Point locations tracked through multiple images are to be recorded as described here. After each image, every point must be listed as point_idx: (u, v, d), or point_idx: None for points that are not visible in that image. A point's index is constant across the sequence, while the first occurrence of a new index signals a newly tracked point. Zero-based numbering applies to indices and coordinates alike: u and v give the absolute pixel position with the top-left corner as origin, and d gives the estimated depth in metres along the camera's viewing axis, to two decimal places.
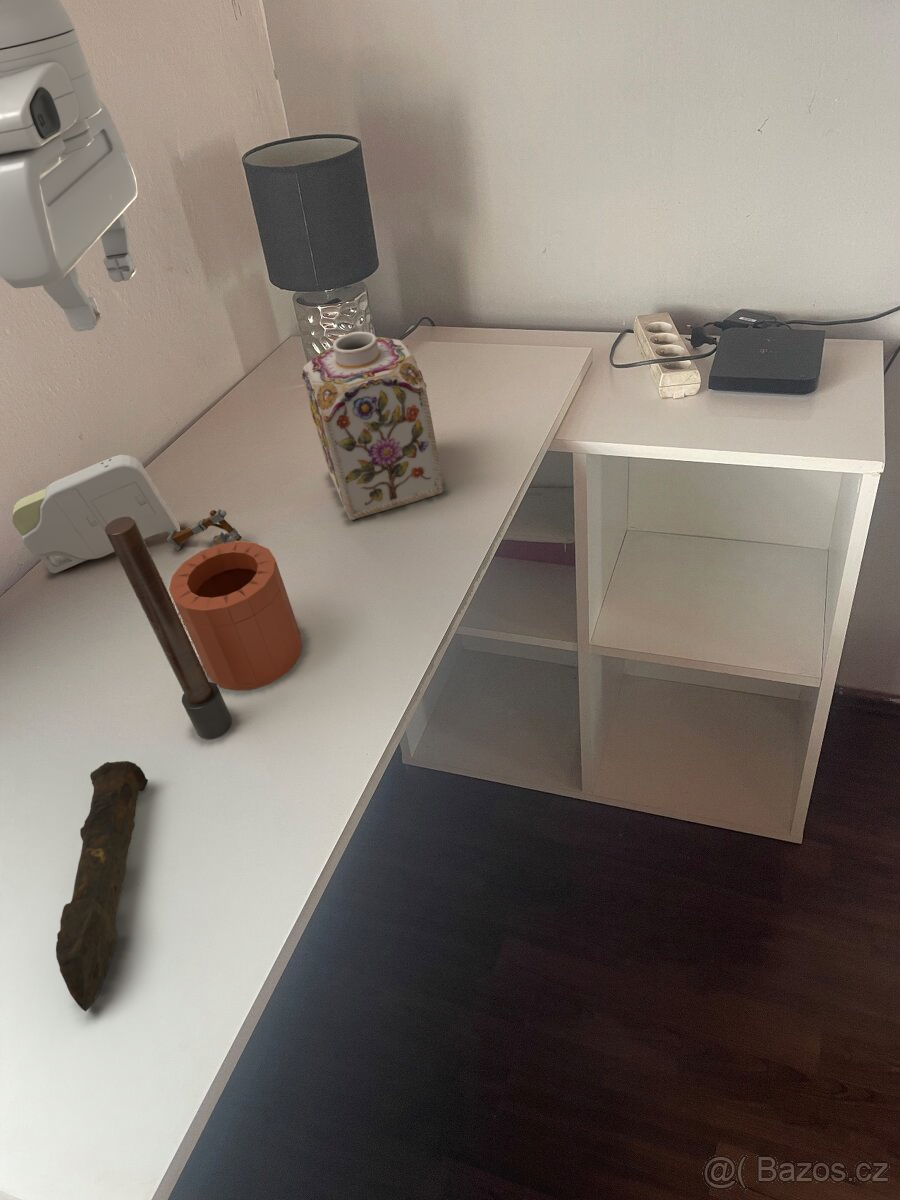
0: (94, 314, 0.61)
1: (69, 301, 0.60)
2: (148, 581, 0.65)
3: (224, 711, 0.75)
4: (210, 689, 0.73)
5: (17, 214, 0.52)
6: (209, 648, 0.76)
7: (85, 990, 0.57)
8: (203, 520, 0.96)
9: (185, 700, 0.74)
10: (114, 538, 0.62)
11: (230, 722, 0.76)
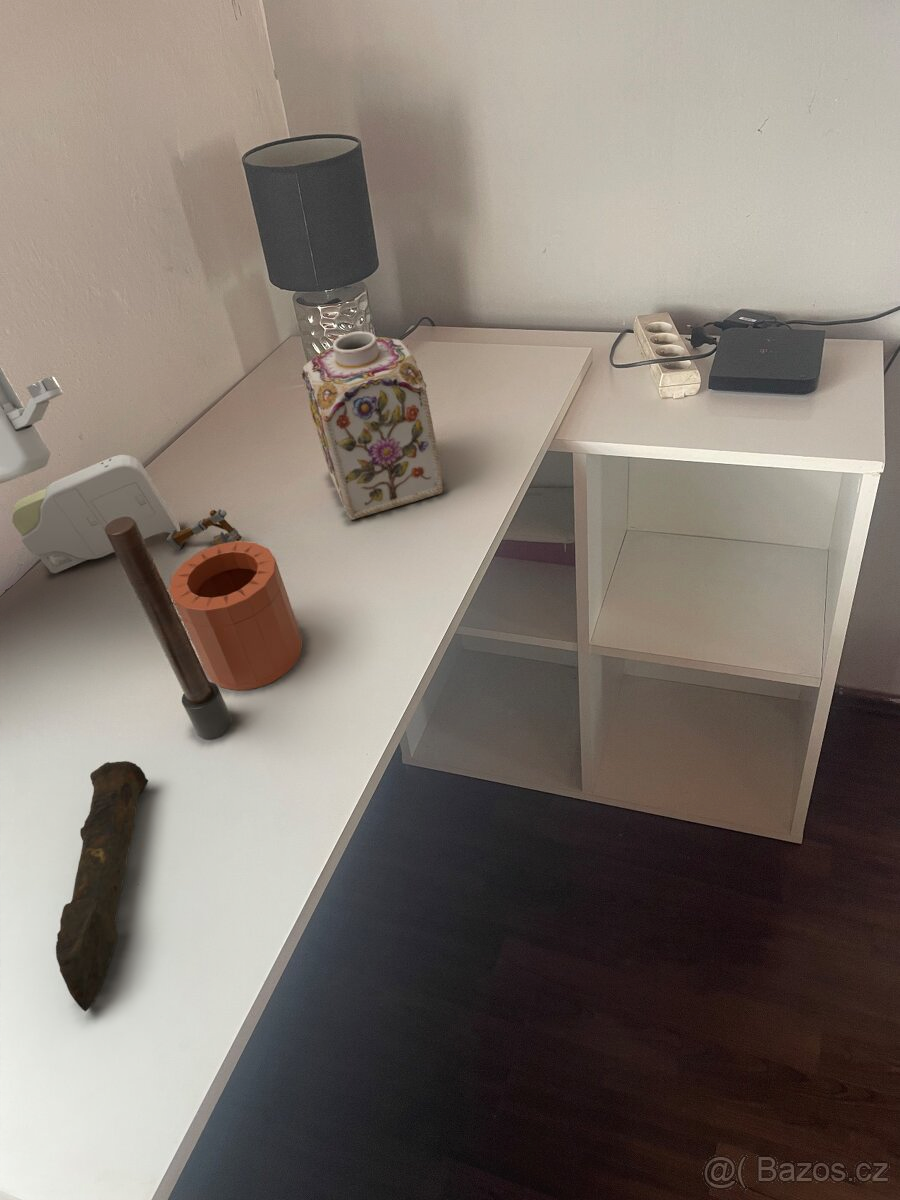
0: (41, 393, 0.70)
1: (40, 408, 0.72)
2: (148, 581, 0.65)
3: (224, 711, 0.75)
4: (210, 689, 0.73)
5: None
6: (209, 648, 0.76)
7: (85, 990, 0.57)
8: (203, 520, 0.96)
9: (185, 700, 0.74)
10: (114, 538, 0.62)
11: (230, 722, 0.76)
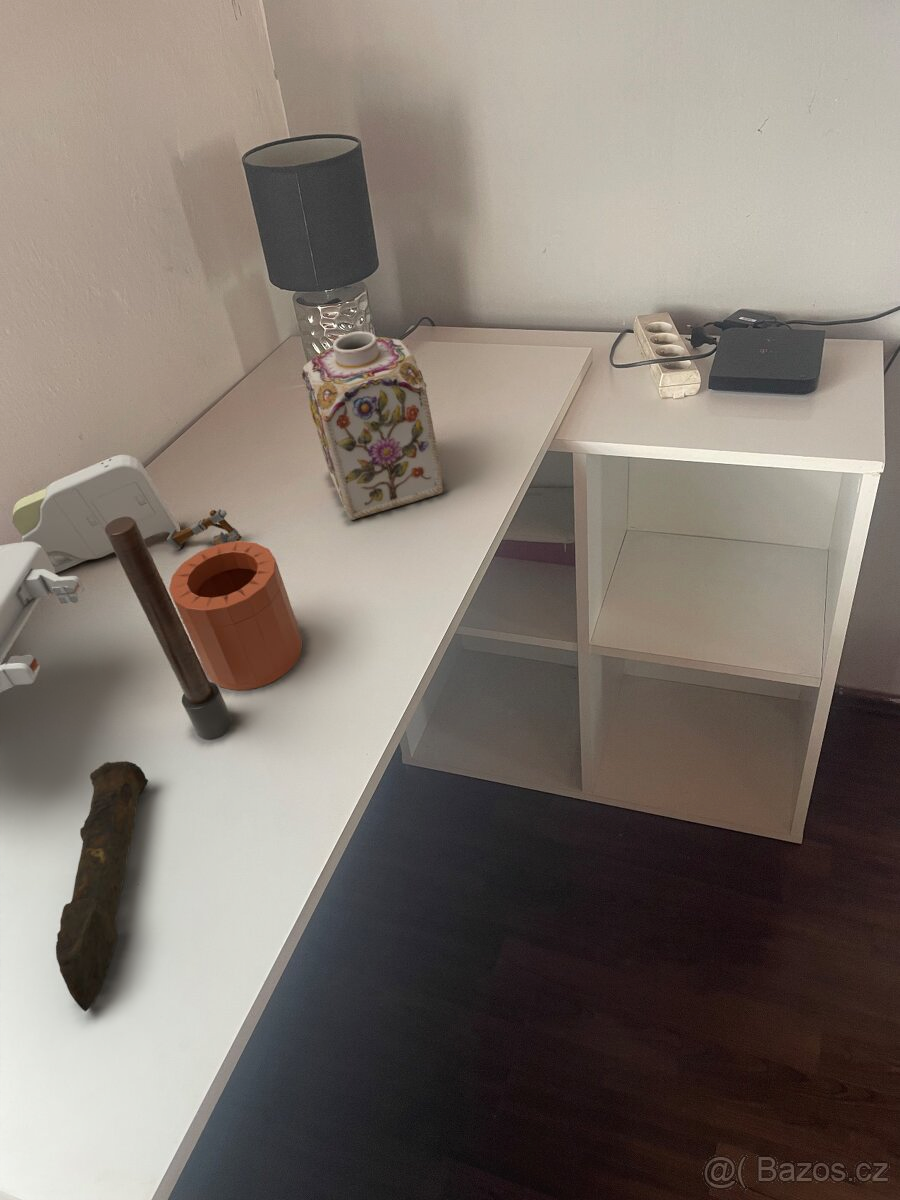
0: (17, 663, 0.66)
1: (0, 681, 0.66)
2: (148, 581, 0.65)
3: (224, 711, 0.75)
4: (210, 689, 0.73)
5: None
6: (209, 648, 0.76)
7: (85, 990, 0.57)
8: (203, 520, 0.96)
9: (185, 700, 0.74)
10: (114, 538, 0.62)
11: (230, 722, 0.76)
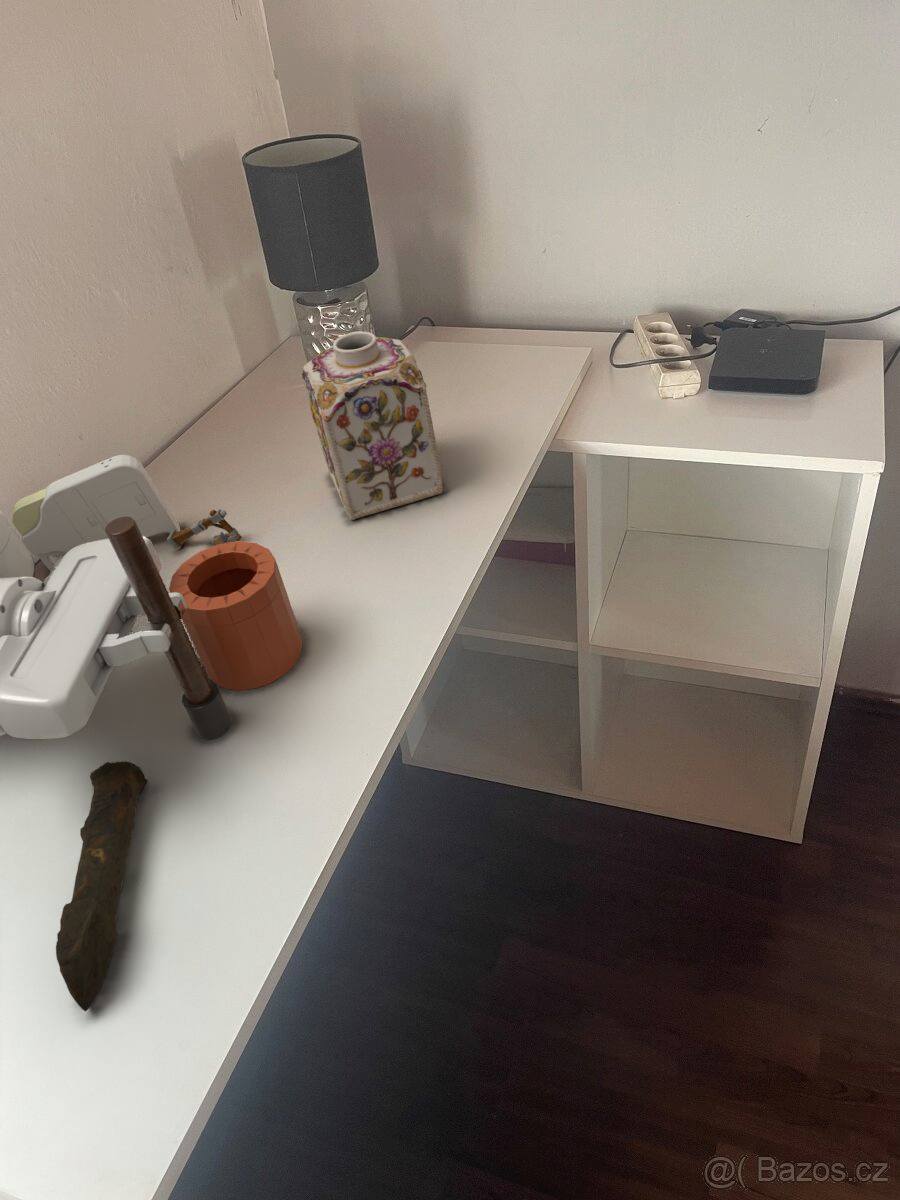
0: (153, 631, 0.66)
1: (136, 649, 0.66)
2: (148, 581, 0.65)
3: (224, 711, 0.75)
4: (210, 689, 0.73)
5: (10, 712, 0.61)
6: (209, 648, 0.76)
7: (85, 990, 0.57)
8: (203, 520, 0.96)
9: (185, 700, 0.74)
10: (114, 538, 0.62)
11: (230, 722, 0.76)
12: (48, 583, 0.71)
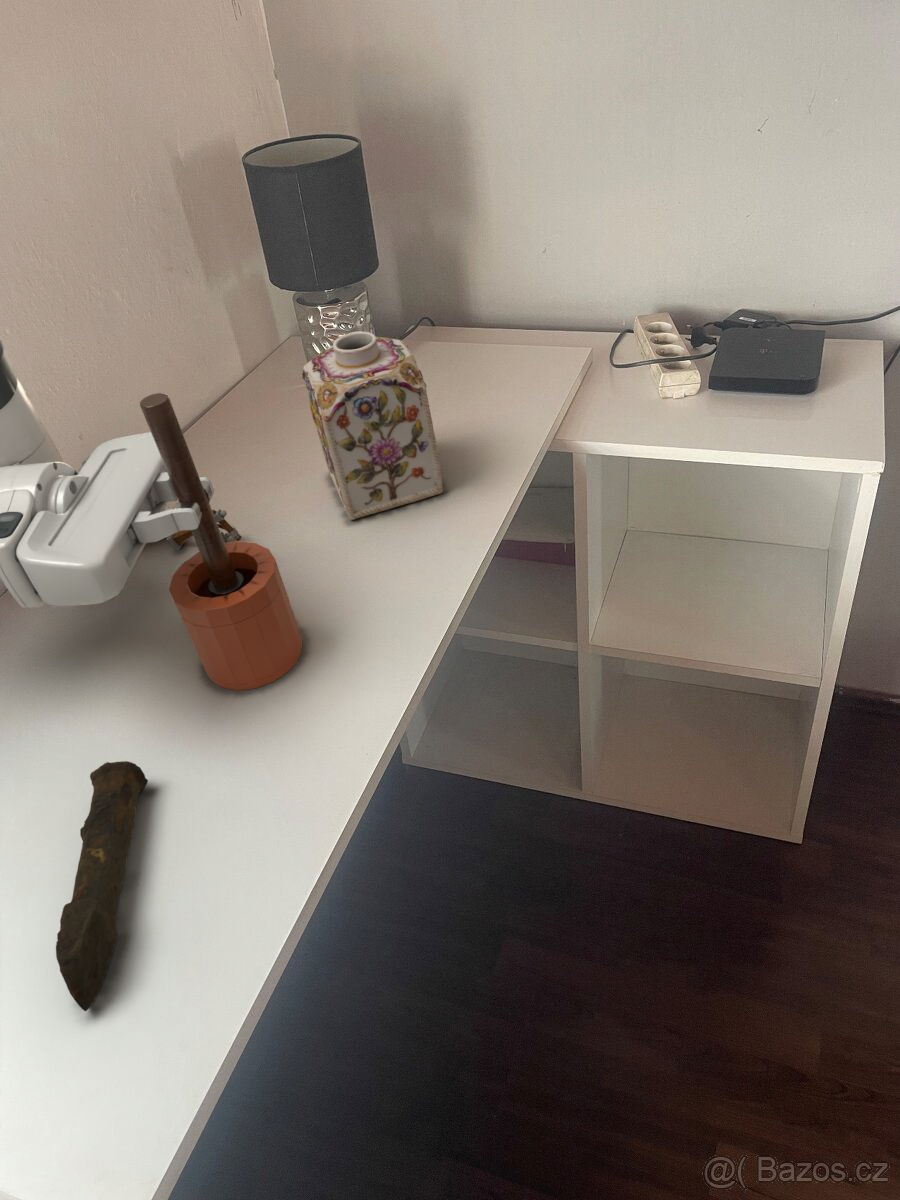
0: (184, 508, 0.69)
1: (167, 525, 0.69)
2: (180, 458, 0.68)
3: None
4: (235, 576, 0.77)
5: (49, 576, 0.65)
6: (209, 648, 0.76)
7: (85, 990, 0.57)
8: None
9: (211, 587, 0.77)
10: (149, 411, 0.65)
11: None
12: (81, 471, 0.75)
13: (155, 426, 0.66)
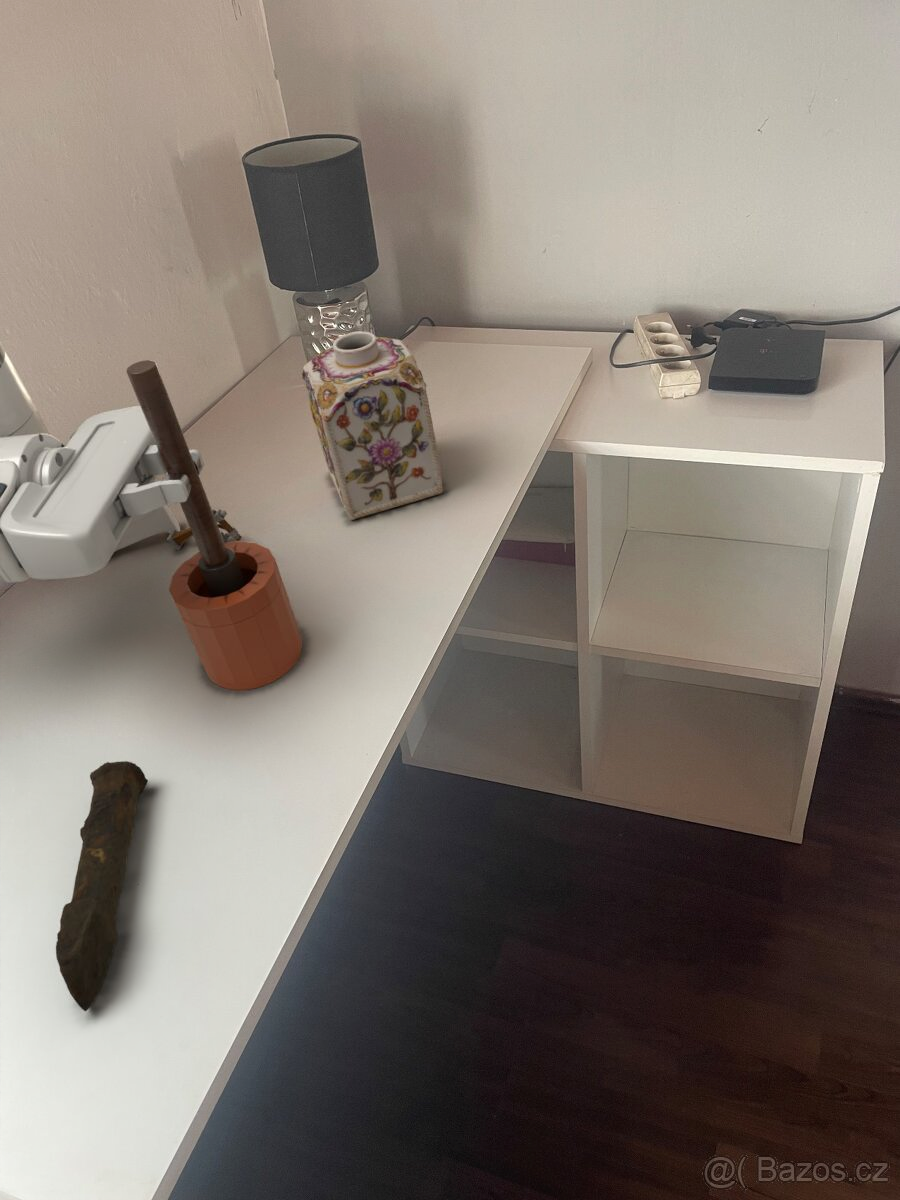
0: (172, 480, 0.68)
1: (156, 498, 0.68)
2: (168, 427, 0.66)
3: (240, 576, 0.76)
4: (226, 552, 0.75)
5: (33, 547, 0.63)
6: (209, 648, 0.76)
7: (85, 990, 0.57)
8: None
9: (201, 563, 0.75)
10: (136, 378, 0.63)
11: None
12: (68, 444, 0.73)
13: (142, 394, 0.64)
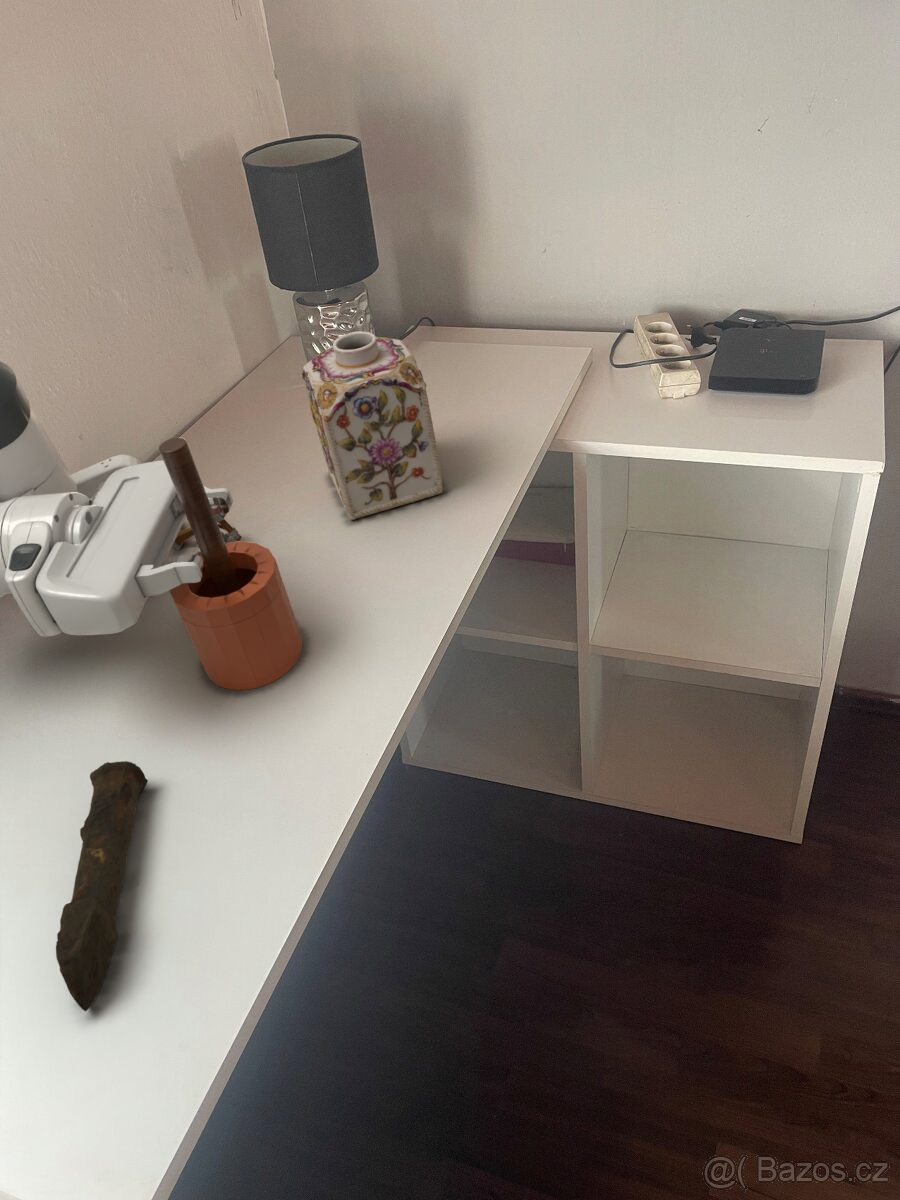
0: (187, 562, 0.69)
1: (170, 579, 0.70)
2: (196, 498, 0.71)
3: None
4: None
5: (68, 607, 0.67)
6: (209, 648, 0.76)
7: (85, 990, 0.57)
8: None
9: None
10: (168, 455, 0.68)
11: None
12: (95, 500, 0.77)
13: (173, 469, 0.69)
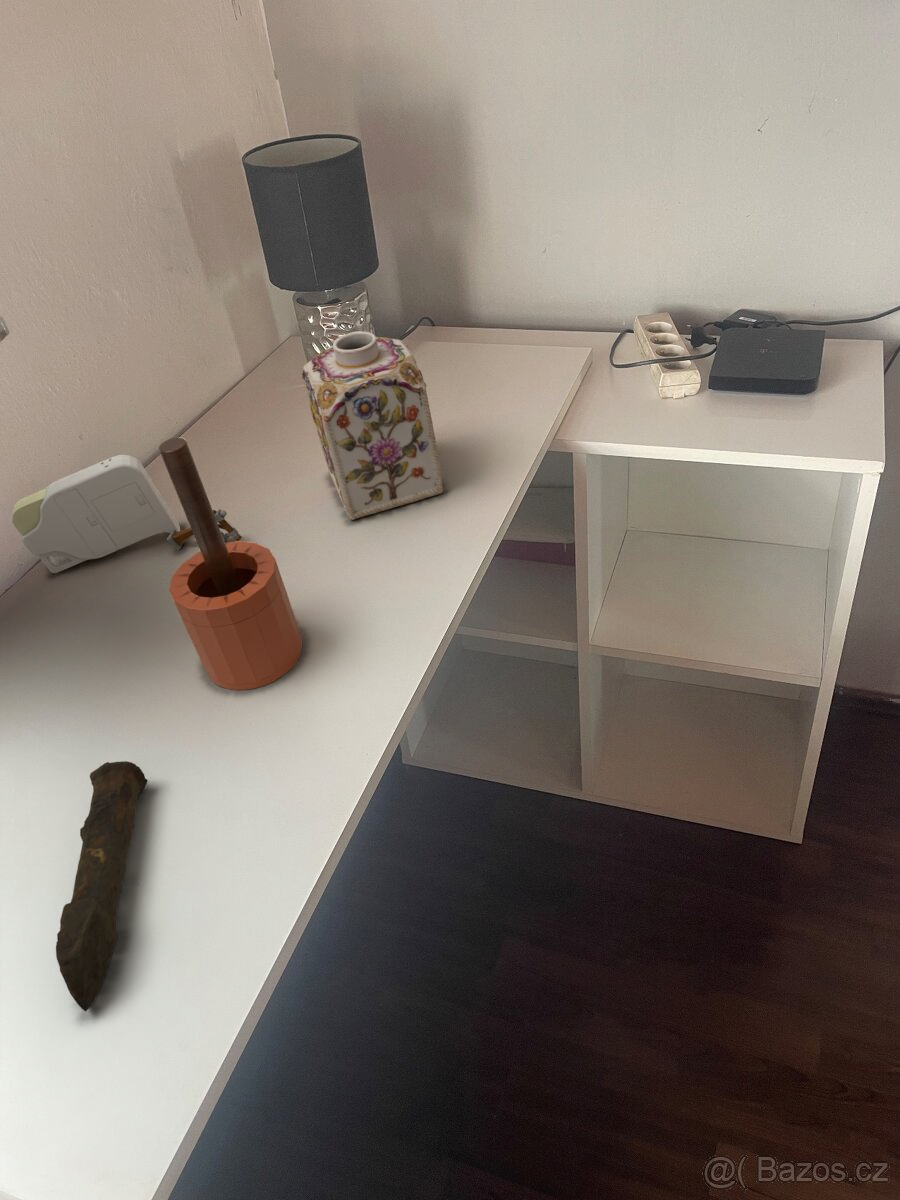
0: None
1: None
2: (196, 498, 0.71)
3: None
4: None
5: None
6: (209, 648, 0.76)
7: (85, 990, 0.57)
8: None
9: None
10: (168, 455, 0.68)
11: None
12: None
13: (173, 469, 0.69)
